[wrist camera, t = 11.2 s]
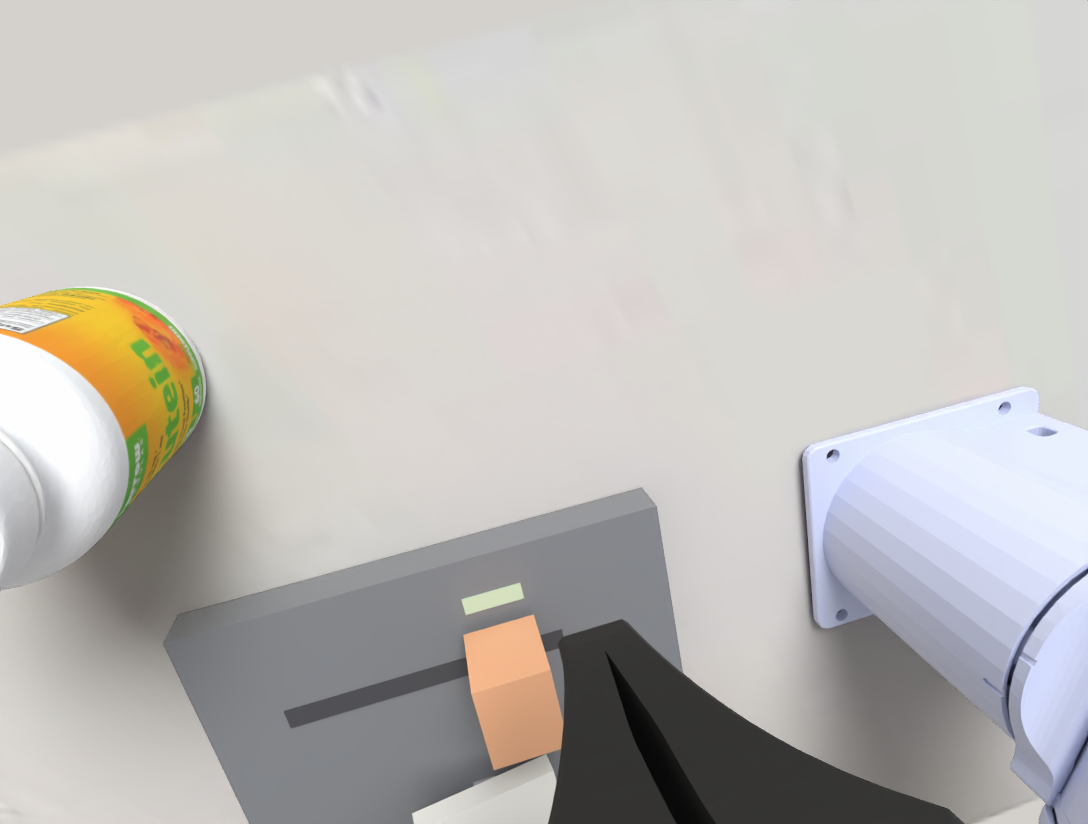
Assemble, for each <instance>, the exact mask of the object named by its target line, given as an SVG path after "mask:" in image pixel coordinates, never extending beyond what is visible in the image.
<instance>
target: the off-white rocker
mask: <svg viewBox="0 0 1088 824" xmlns="http://www.w3.org/2000/svg"><path fill="white" fill-rule="evenodd" d="M555 788H556V778H555V774H554V770H553V768H552V766H551V764H550V761H549V759H548V757H547V755H546V754H545V755H543V756H541V757H538V758H536V759H534V760H532V761H529V762H527V763H525V764H523V765H520V766H518V767H516V768H514V769H511V770H509V771H507V772H505V773H502V774H500V775H498V776H495V777H493V778H491V779H489V780H486V781H484V782H482V783H480V784H477V785H475V786H473V787H471V788H468V789H466V790H464V791H462V792H459V793H457V794H455V795H453V796H450V797H448V798H446V799H444V800H441V801H439V802H437V803H435V804H432V805H430V806H428V807H426V808H423V809H421V810H419V811H417V812H414V813H412V816H413V822H414V824H548V821H549V817H550V813H551V809H552V804H553V798H554V793H555Z"/></svg>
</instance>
